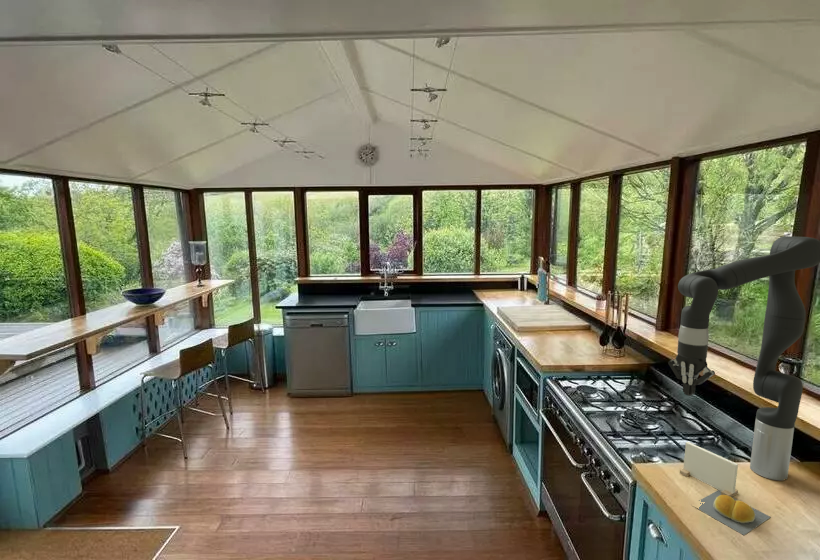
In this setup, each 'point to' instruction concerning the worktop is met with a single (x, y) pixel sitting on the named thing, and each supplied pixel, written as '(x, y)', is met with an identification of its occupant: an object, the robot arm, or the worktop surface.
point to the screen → (710, 469)
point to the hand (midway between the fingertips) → (688, 394)
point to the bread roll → (734, 509)
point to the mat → (738, 527)
